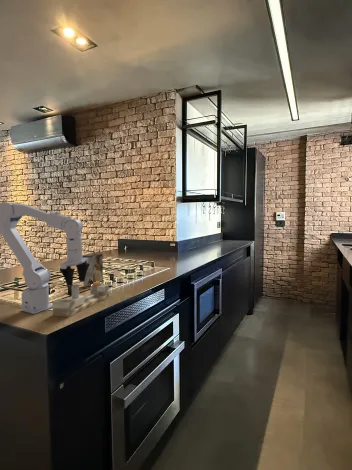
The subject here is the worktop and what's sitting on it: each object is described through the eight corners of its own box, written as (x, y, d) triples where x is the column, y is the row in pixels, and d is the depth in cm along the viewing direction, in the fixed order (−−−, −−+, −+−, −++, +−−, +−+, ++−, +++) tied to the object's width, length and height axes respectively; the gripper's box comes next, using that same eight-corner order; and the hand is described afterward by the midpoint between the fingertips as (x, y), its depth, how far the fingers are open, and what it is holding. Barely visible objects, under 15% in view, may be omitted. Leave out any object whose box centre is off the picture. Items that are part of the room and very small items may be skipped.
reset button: (97, 289, 133) (97, 282, 133) (93, 288, 134) (93, 282, 133) (100, 288, 135) (100, 281, 135) (96, 287, 136) (96, 281, 136)
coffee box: (93, 282, 161) (92, 253, 159) (103, 283, 159) (102, 253, 157) (82, 286, 152) (82, 255, 150) (93, 287, 150) (92, 256, 148)
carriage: (75, 307, 115) (75, 287, 114) (66, 306, 116) (65, 286, 115) (85, 303, 120) (84, 283, 119) (76, 301, 122) (75, 282, 121)
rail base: (68, 317, 109) (67, 303, 108) (52, 315, 111) (52, 301, 110) (108, 296, 135) (108, 285, 135) (95, 294, 137) (95, 283, 137)
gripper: (70, 252, 108) (72, 288, 109) (93, 247, 122) (95, 279, 123) (55, 251, 110) (56, 287, 111) (79, 246, 124) (80, 278, 125)
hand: (76, 283), depth 117 cm, fingers open, 7 cm apart
